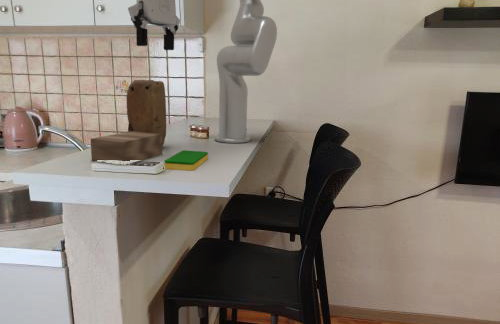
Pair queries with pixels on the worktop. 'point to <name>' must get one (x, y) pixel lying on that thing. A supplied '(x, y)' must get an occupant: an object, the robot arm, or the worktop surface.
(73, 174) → the worktop surface
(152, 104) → the block
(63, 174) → the worktop surface
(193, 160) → the dish sponge
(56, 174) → the worktop surface
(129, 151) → the walnut block
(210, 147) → the worktop surface
